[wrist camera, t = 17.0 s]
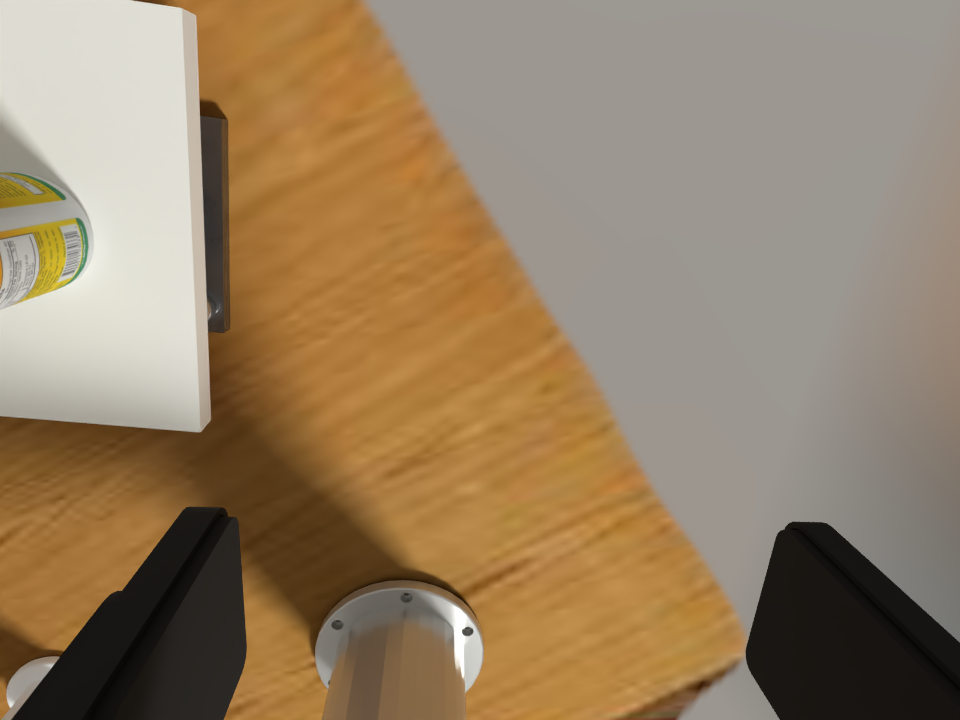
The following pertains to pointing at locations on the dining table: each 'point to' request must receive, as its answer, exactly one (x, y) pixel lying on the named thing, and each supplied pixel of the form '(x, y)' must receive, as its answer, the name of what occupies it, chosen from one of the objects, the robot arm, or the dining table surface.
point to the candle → (26, 682)
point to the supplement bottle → (39, 238)
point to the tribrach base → (216, 220)
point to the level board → (110, 212)
